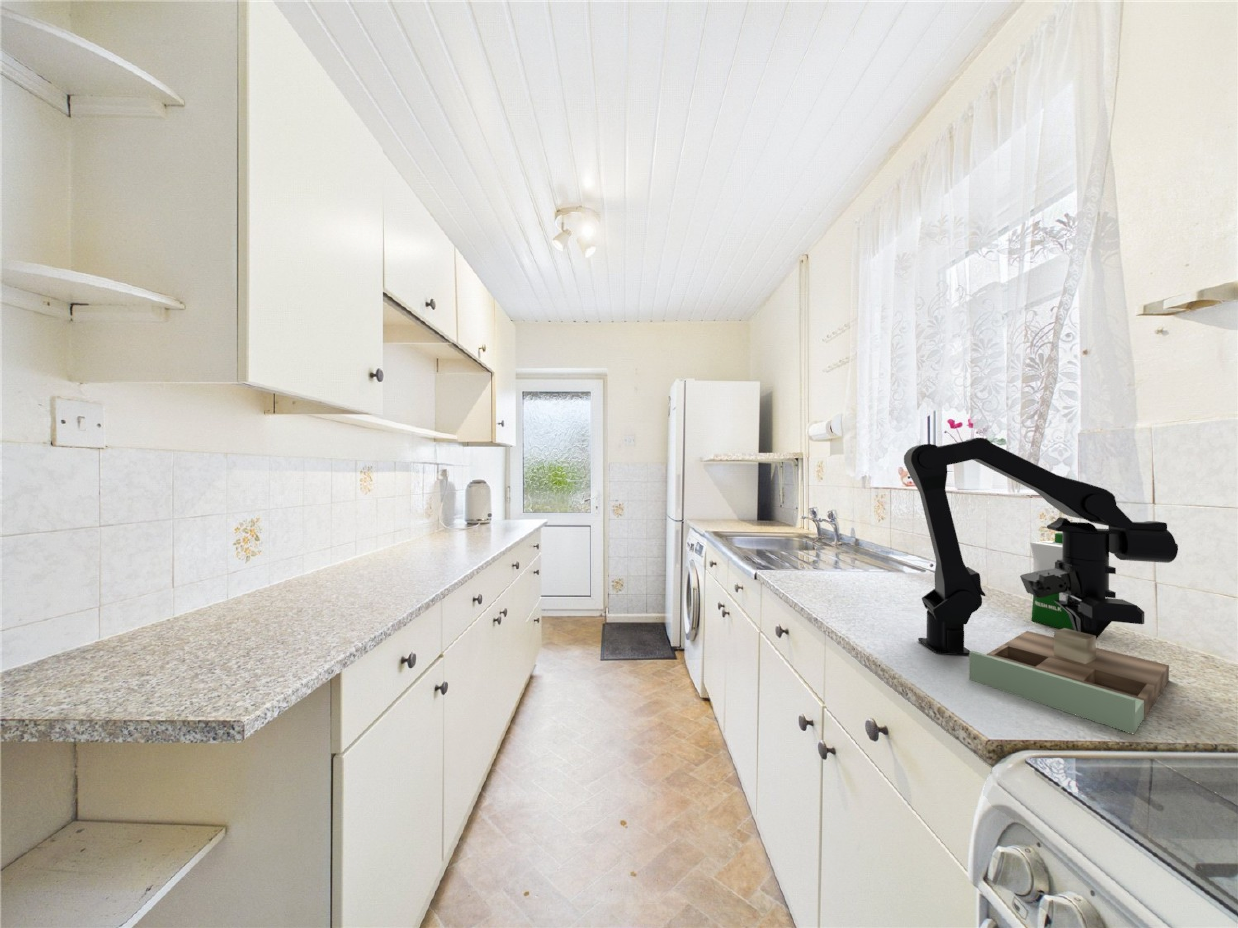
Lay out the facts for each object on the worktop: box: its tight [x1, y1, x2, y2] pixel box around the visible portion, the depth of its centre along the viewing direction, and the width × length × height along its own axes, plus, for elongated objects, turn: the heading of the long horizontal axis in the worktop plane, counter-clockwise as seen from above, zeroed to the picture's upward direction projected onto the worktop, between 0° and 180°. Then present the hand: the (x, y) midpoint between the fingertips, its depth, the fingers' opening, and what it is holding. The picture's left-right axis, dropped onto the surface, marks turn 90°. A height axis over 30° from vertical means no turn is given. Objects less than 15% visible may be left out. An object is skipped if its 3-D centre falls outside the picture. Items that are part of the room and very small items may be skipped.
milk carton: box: [1029, 532, 1074, 630], centre depth 101 cm, size 9×9×20 cm
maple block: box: [1053, 628, 1097, 664], centre depth 77 cm, size 4×4×4 cm
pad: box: [968, 650, 1145, 734], centre depth 69 cm, size 7×18×4 cm, turn 33°
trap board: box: [985, 630, 1170, 718], centre depth 76 cm, size 21×18×2 cm
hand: (1084, 646), depth 79 cm, fingers closed
